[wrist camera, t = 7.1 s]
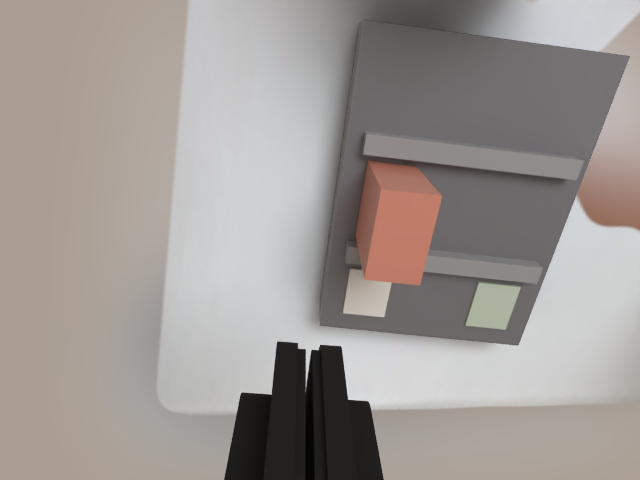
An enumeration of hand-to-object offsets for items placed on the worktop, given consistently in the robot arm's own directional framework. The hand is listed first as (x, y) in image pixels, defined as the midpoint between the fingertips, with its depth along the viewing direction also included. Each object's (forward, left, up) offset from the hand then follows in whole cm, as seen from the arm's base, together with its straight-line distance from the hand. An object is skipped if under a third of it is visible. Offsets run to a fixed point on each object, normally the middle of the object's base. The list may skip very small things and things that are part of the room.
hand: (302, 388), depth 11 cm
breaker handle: (-5, 0, -17) cm, 17 cm away
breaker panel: (-9, 0, -20) cm, 22 cm away
